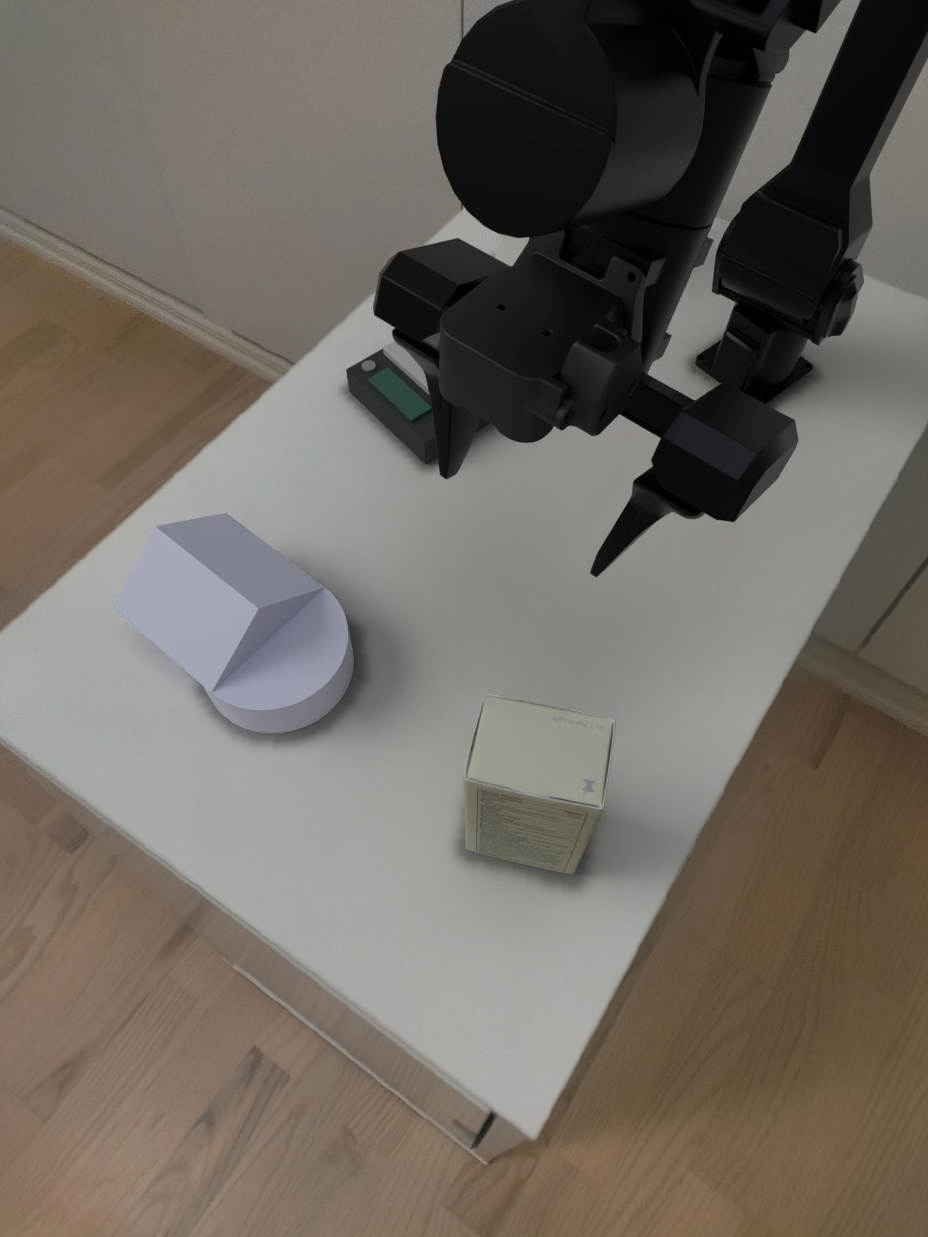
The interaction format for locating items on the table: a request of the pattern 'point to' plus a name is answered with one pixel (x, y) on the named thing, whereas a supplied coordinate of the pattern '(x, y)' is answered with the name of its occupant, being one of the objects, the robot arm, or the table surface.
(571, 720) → the cosmetic box
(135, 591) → the wedge on round base
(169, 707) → the table surface
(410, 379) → the kitchen scale
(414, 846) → the table surface
